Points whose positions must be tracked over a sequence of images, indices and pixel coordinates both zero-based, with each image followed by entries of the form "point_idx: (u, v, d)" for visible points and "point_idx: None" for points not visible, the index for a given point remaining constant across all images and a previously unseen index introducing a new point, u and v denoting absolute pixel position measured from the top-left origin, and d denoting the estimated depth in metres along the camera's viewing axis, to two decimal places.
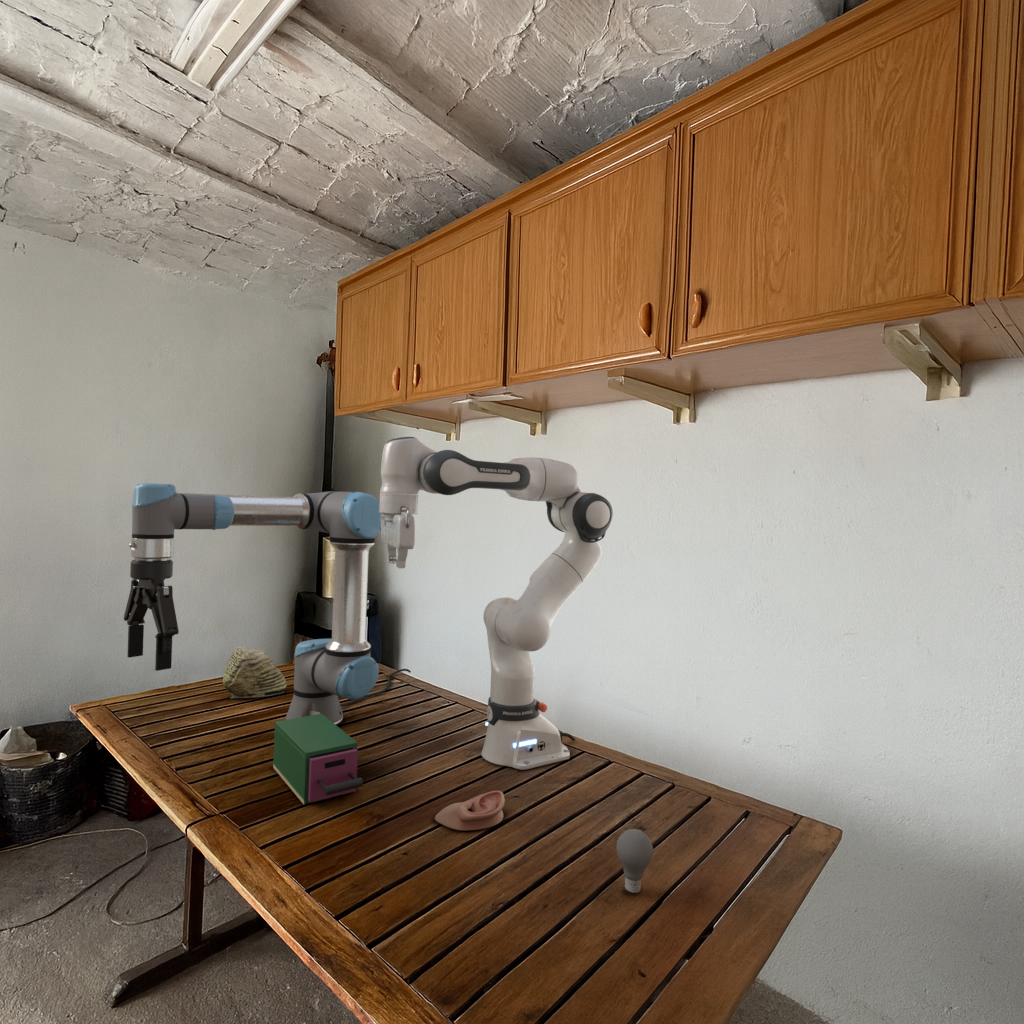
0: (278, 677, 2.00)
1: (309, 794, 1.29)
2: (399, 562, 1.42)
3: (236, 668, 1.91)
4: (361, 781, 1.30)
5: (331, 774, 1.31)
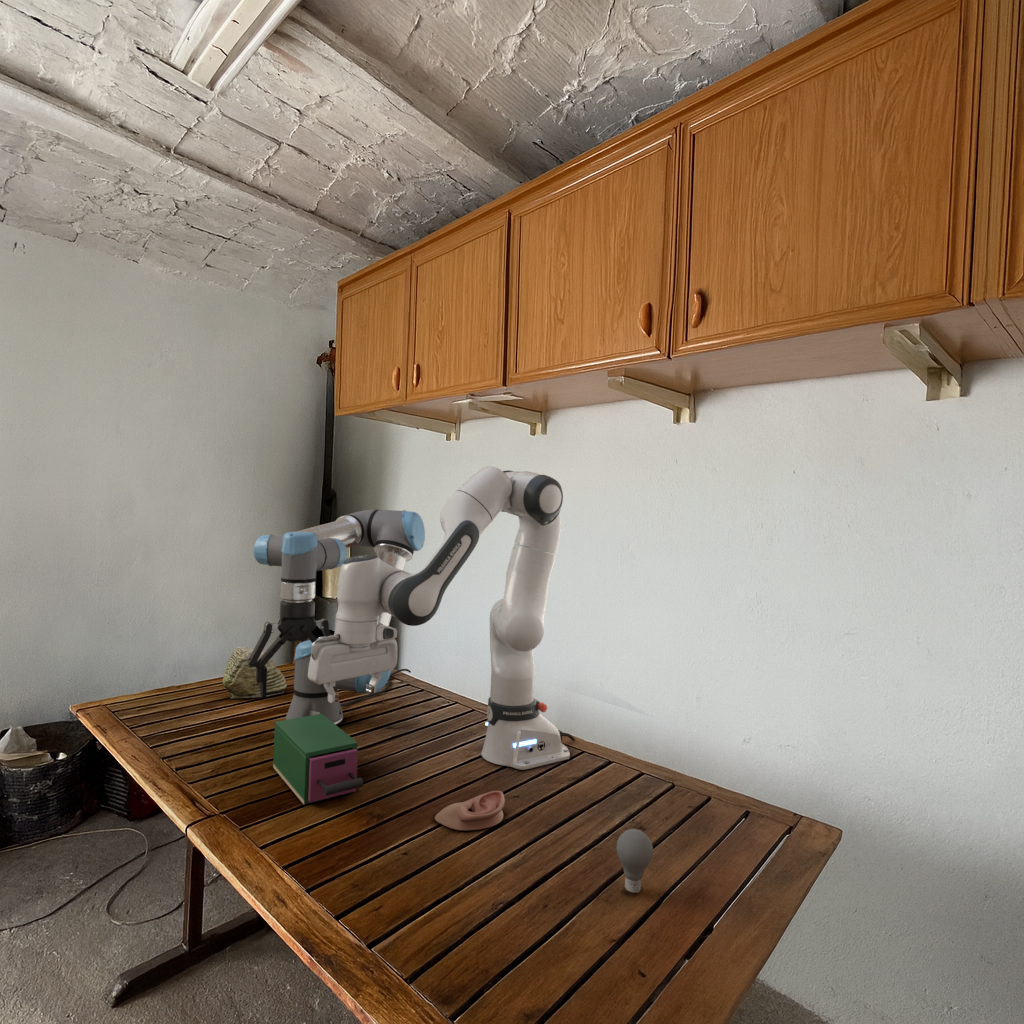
0: (278, 677, 2.00)
1: (309, 794, 1.29)
2: (329, 695, 1.29)
3: (236, 668, 1.91)
4: (361, 781, 1.30)
5: (331, 774, 1.31)
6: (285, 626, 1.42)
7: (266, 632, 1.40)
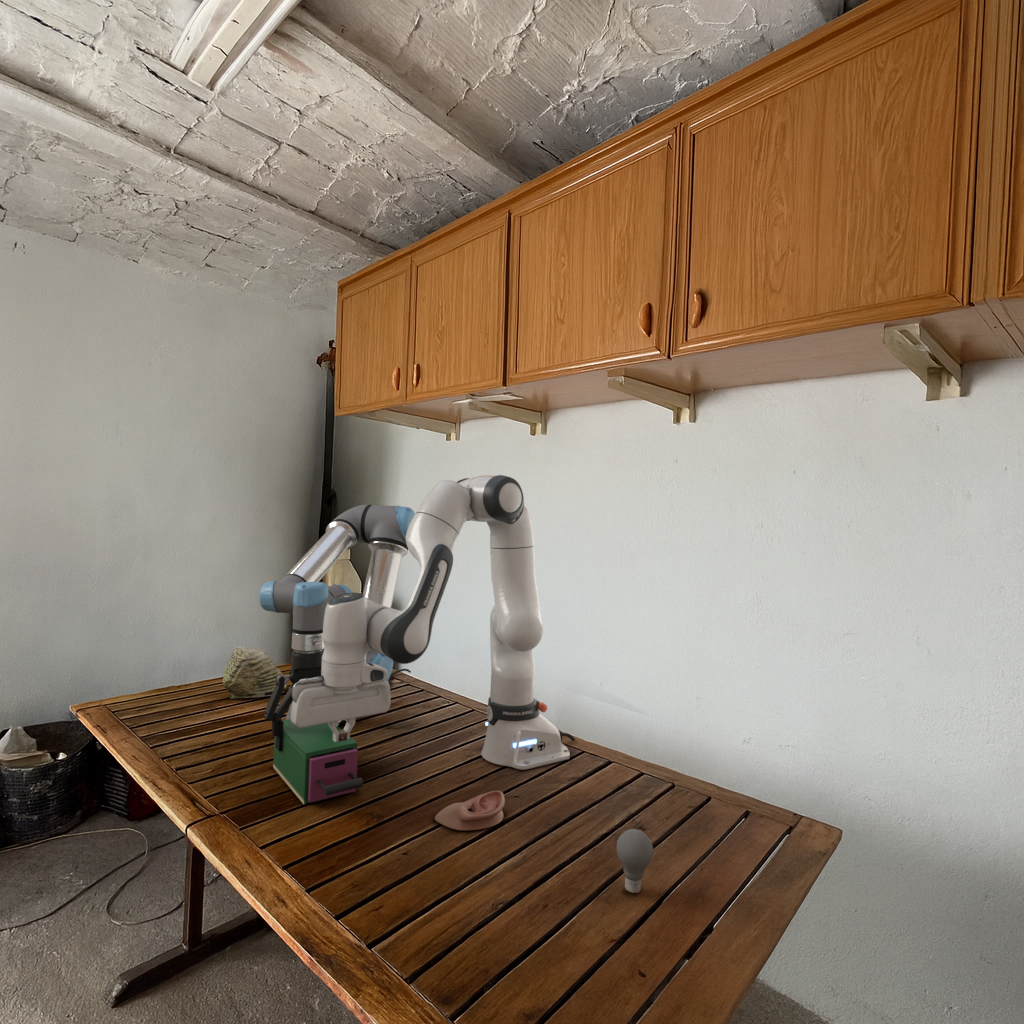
0: None
1: (309, 794, 1.29)
2: (333, 734, 1.29)
3: (236, 668, 1.91)
4: (361, 781, 1.30)
5: (331, 774, 1.31)
6: (297, 677, 1.43)
7: (279, 685, 1.41)
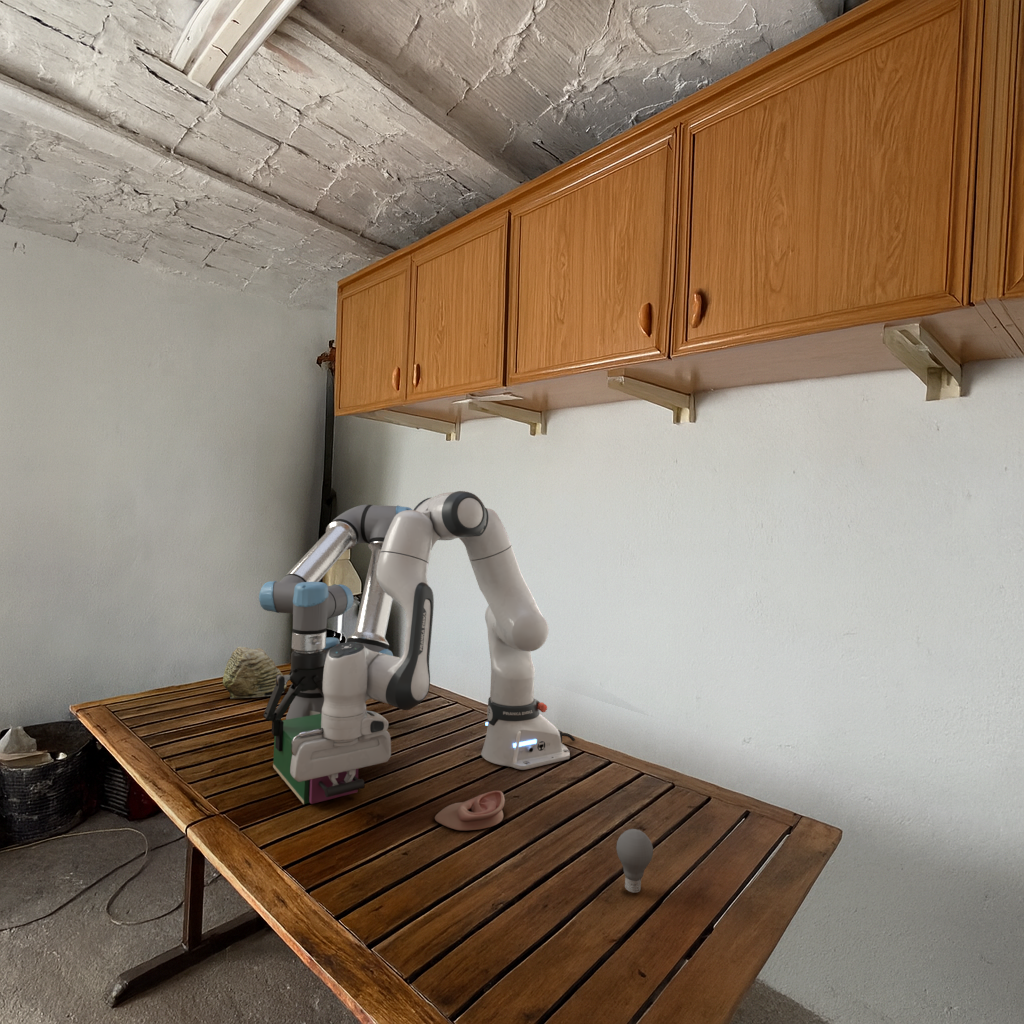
0: None
1: (310, 796, 1.29)
2: (333, 785, 1.28)
3: (236, 668, 1.91)
4: (362, 782, 1.29)
5: None
6: (297, 676, 1.43)
7: (279, 685, 1.41)
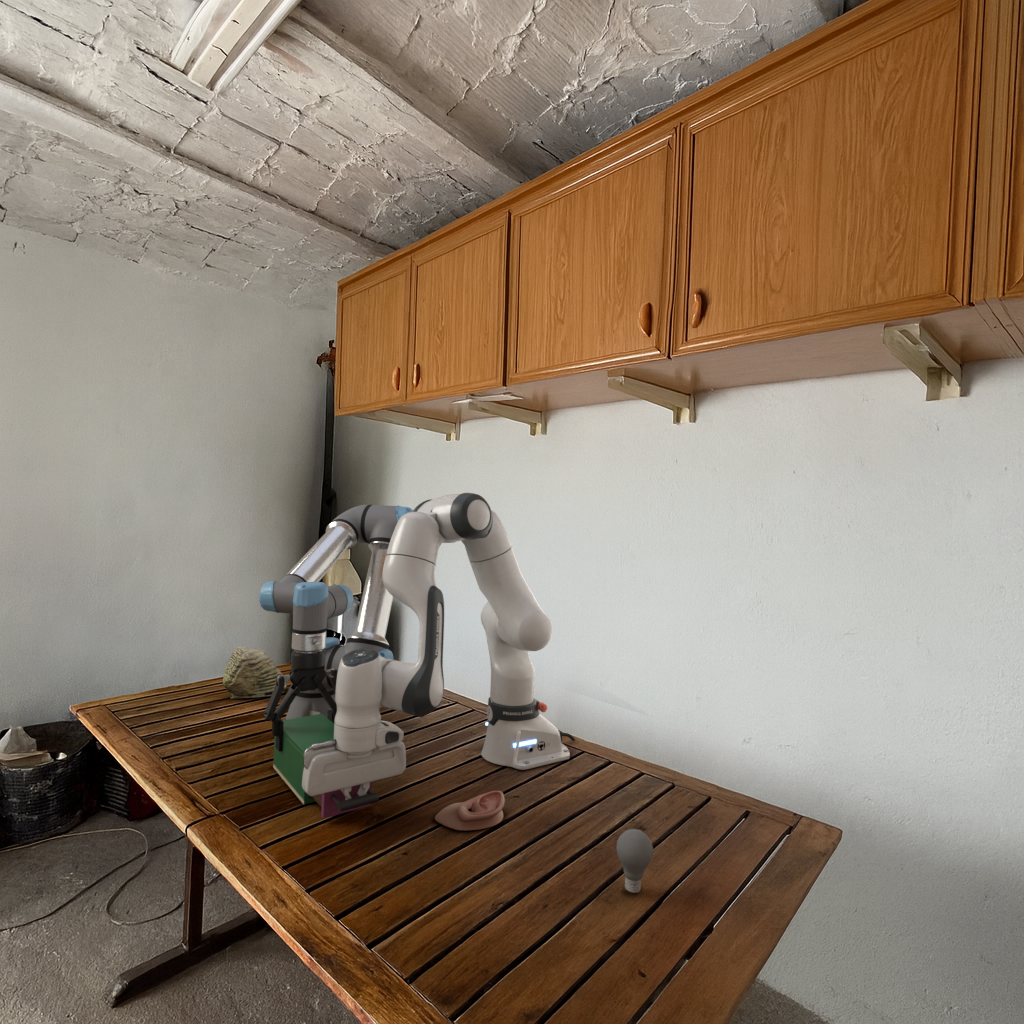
0: None
1: (322, 810, 1.23)
2: (346, 799, 1.23)
3: (236, 668, 1.91)
4: (377, 796, 1.24)
5: None
6: (297, 677, 1.43)
7: (279, 685, 1.41)
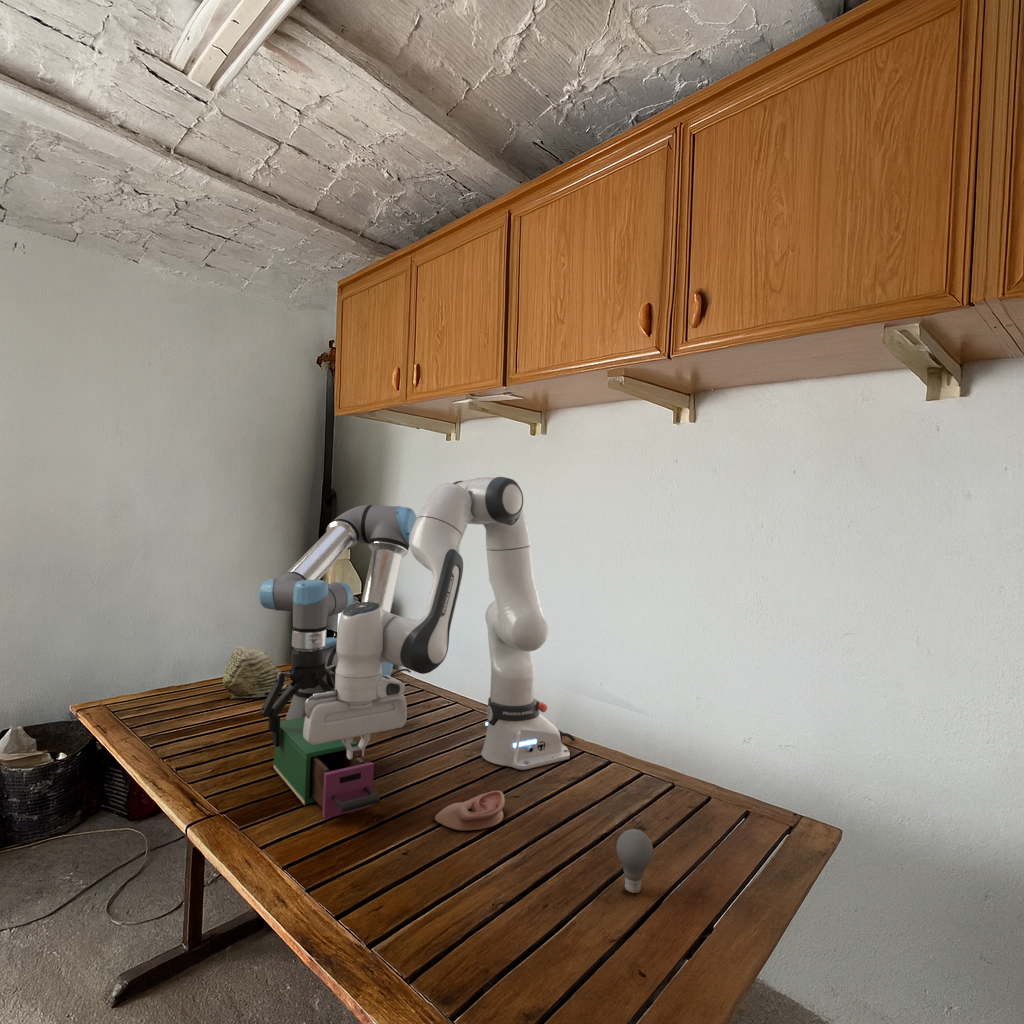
0: None
1: (323, 810, 1.23)
2: (347, 751, 1.23)
3: (236, 668, 1.91)
4: (378, 797, 1.23)
5: (346, 789, 1.25)
6: (297, 674, 1.44)
7: (279, 682, 1.41)
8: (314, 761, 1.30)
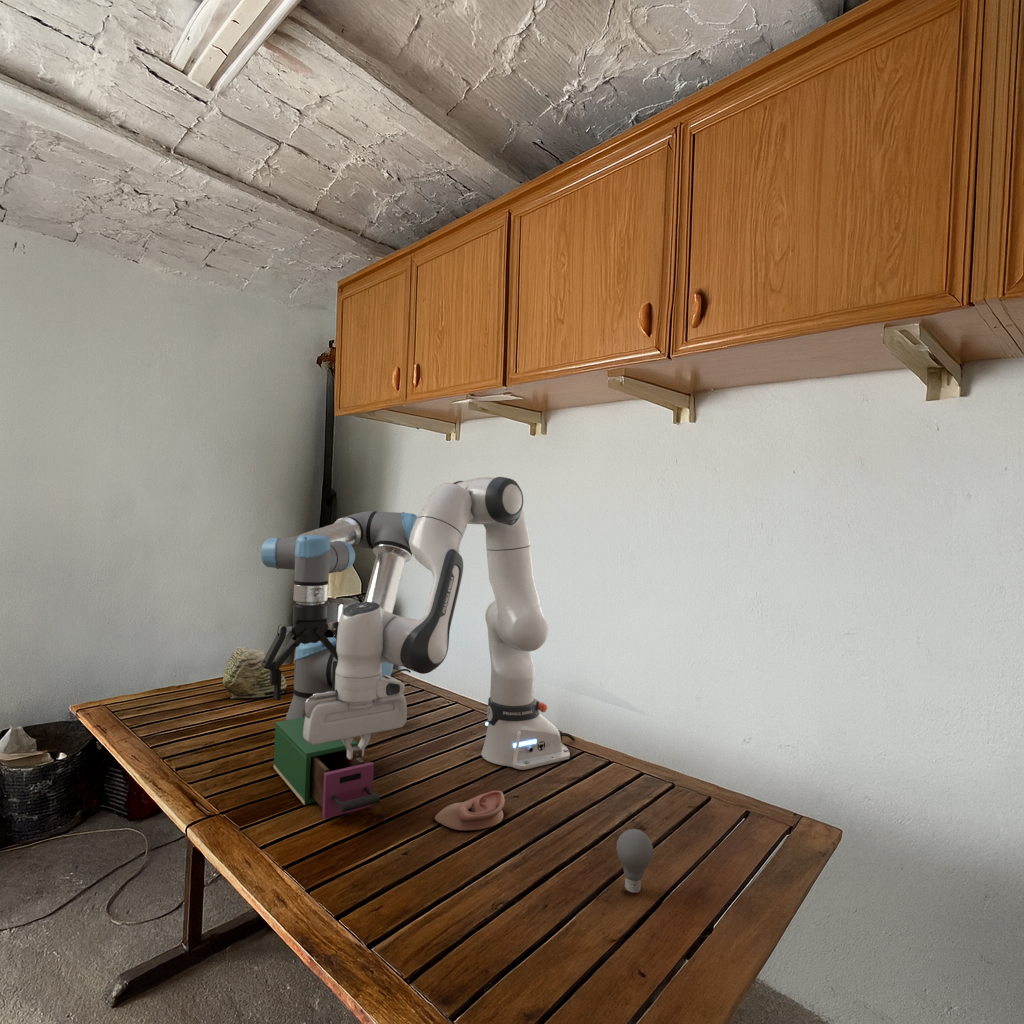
0: None
1: (323, 810, 1.23)
2: (347, 751, 1.23)
3: (236, 668, 1.91)
4: (378, 797, 1.23)
5: (346, 789, 1.25)
6: (299, 628, 1.43)
7: (281, 635, 1.41)
8: (314, 761, 1.30)
